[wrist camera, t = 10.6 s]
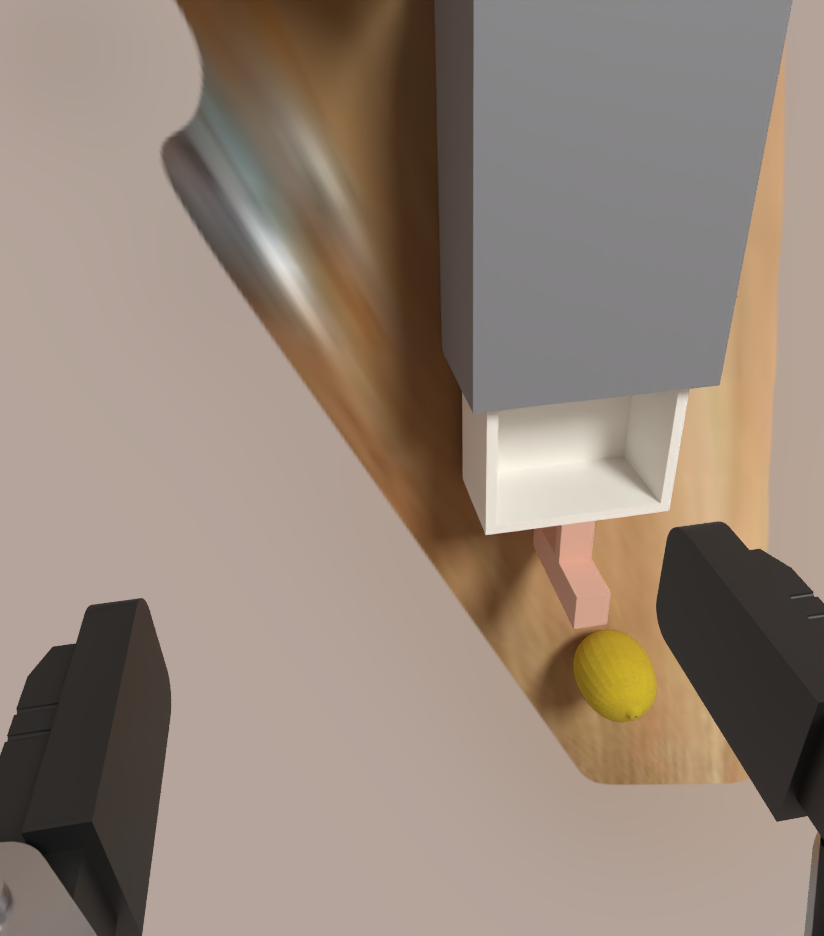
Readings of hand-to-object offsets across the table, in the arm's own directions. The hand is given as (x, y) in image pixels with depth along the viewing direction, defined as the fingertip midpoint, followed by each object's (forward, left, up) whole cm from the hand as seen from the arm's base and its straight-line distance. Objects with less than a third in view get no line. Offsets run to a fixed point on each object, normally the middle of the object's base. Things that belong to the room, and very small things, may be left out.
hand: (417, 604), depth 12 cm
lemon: (+35, +18, -32) cm, 51 cm away
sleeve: (0, +13, -32) cm, 35 cm away
